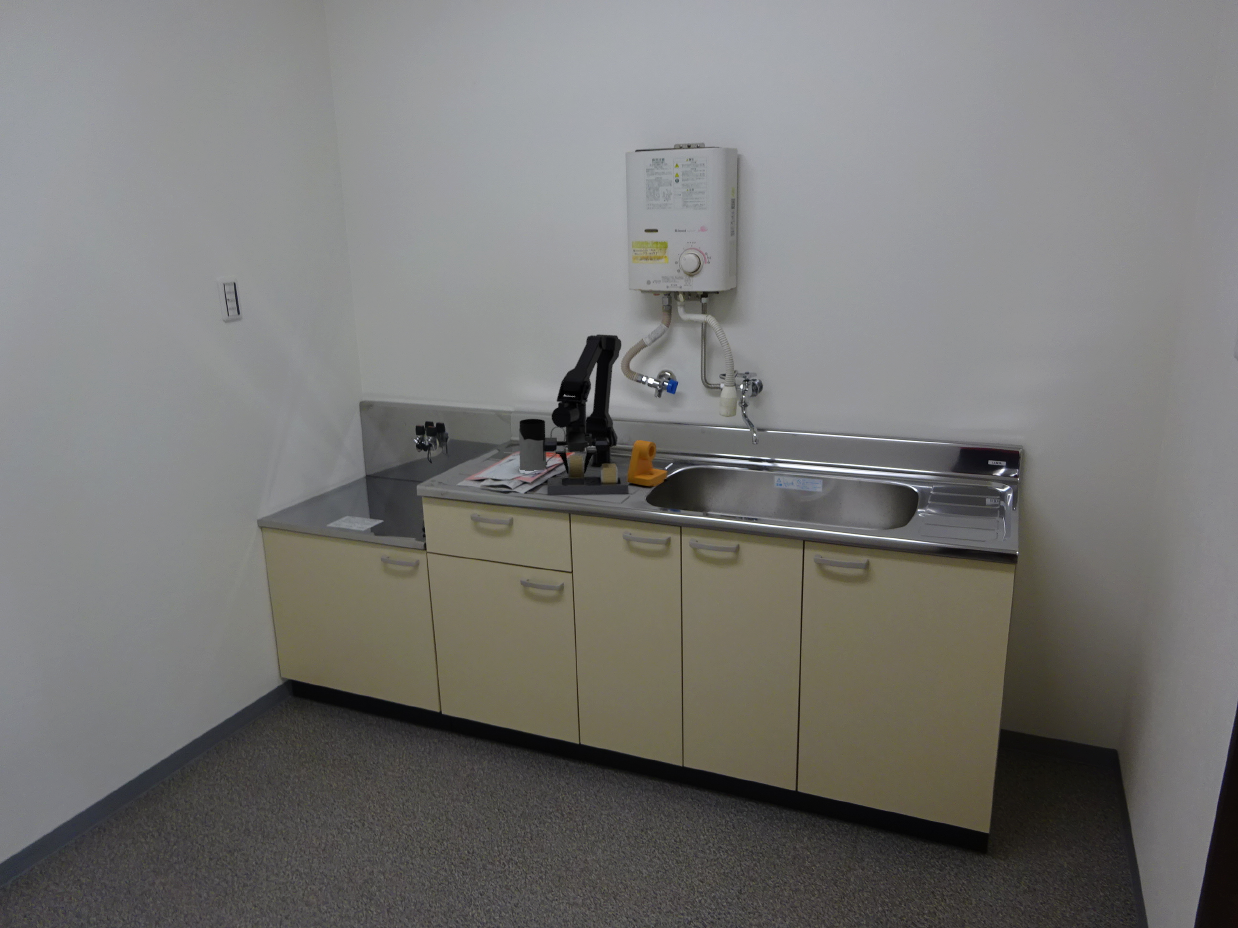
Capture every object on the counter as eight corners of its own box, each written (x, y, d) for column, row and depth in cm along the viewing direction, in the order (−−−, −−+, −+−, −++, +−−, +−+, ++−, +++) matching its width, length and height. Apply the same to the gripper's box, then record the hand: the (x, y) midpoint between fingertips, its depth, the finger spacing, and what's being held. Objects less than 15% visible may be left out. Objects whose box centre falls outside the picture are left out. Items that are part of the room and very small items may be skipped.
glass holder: (521, 466, 265) (520, 418, 261) (567, 467, 265) (567, 419, 261) (516, 474, 257) (514, 424, 253) (564, 475, 256) (563, 425, 252)
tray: (548, 486, 246) (547, 477, 245) (626, 485, 247) (626, 476, 246) (547, 494, 238) (547, 486, 237) (628, 493, 239) (628, 485, 239)
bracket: (649, 489, 244) (650, 447, 241) (627, 484, 248) (627, 444, 245) (668, 479, 253) (669, 439, 250) (646, 476, 257) (647, 436, 253)
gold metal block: (568, 478, 253) (568, 455, 251) (583, 478, 253) (583, 455, 251) (568, 483, 249) (568, 459, 247) (584, 483, 249) (584, 459, 247)
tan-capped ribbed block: (600, 487, 245) (600, 463, 243) (616, 487, 245) (616, 463, 243) (601, 492, 241) (601, 468, 239) (617, 492, 241) (617, 467, 239)
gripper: (542, 427, 238) (542, 481, 242) (610, 426, 239) (610, 481, 243) (542, 418, 249) (543, 470, 253) (608, 417, 250) (608, 470, 254)
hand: (576, 473), depth 250 cm, fingers closed on gold metal block, 4 cm apart
